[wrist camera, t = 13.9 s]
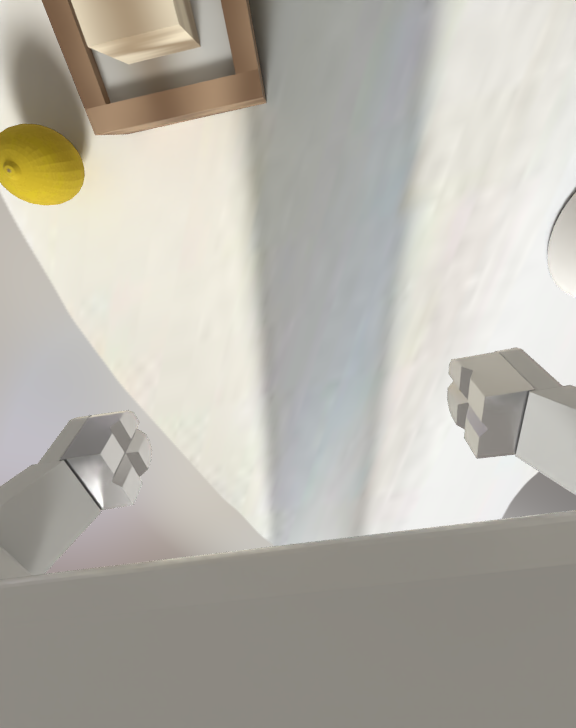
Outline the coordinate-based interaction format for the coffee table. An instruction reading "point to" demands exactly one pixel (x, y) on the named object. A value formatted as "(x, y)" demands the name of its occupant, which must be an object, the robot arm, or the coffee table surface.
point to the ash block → (137, 27)
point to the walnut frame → (165, 71)
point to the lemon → (39, 165)
